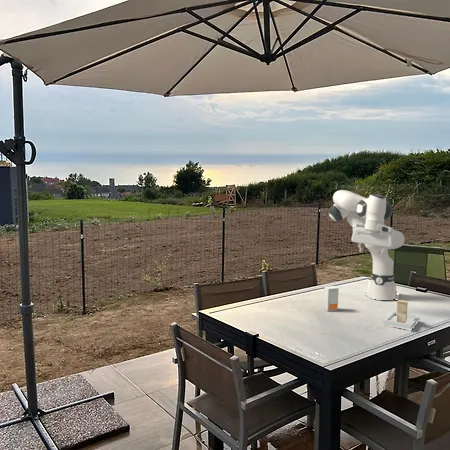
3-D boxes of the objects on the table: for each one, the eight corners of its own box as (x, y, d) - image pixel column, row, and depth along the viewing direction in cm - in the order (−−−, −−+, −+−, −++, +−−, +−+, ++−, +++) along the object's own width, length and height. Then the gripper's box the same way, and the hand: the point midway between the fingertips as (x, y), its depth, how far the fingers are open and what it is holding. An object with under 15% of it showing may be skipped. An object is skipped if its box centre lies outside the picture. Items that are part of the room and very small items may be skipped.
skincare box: (327, 311, 214) (328, 288, 213) (323, 309, 219) (324, 286, 217) (338, 310, 216) (338, 287, 215) (333, 308, 220) (334, 285, 219)
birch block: (397, 320, 199) (398, 299, 198) (406, 321, 197) (407, 301, 196) (396, 322, 196) (397, 301, 195) (405, 324, 194) (406, 303, 193)
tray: (393, 317, 206) (393, 311, 206) (419, 322, 199) (419, 316, 199) (383, 325, 194) (383, 319, 193) (410, 331, 187) (411, 325, 186)
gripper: (351, 224, 213) (348, 250, 214) (394, 229, 202) (390, 257, 204) (354, 223, 218) (351, 249, 220) (396, 228, 208) (392, 256, 209)
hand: (370, 253), depth 212 cm, fingers open, 8 cm apart
